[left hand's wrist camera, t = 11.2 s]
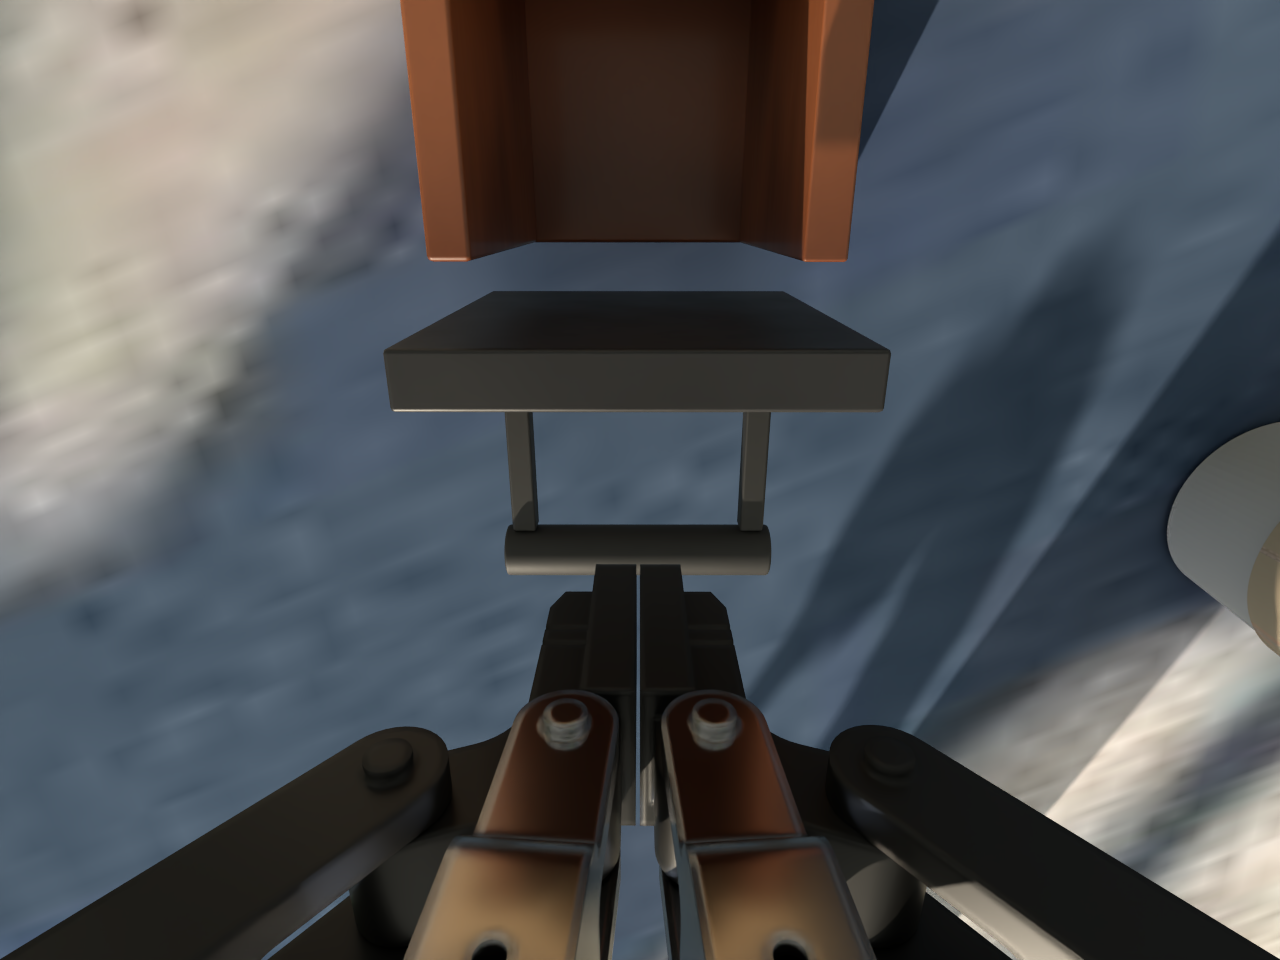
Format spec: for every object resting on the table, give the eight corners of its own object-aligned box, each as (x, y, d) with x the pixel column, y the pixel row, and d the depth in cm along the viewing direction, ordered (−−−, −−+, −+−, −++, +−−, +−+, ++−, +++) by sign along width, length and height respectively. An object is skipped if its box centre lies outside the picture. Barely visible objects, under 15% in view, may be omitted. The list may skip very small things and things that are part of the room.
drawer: (770, 489, 24) (852, 662, 15) (505, 489, 24) (423, 662, 15) (837, -406, 16) (1104, -1243, 7) (438, -406, 16) (168, -1241, 7)
